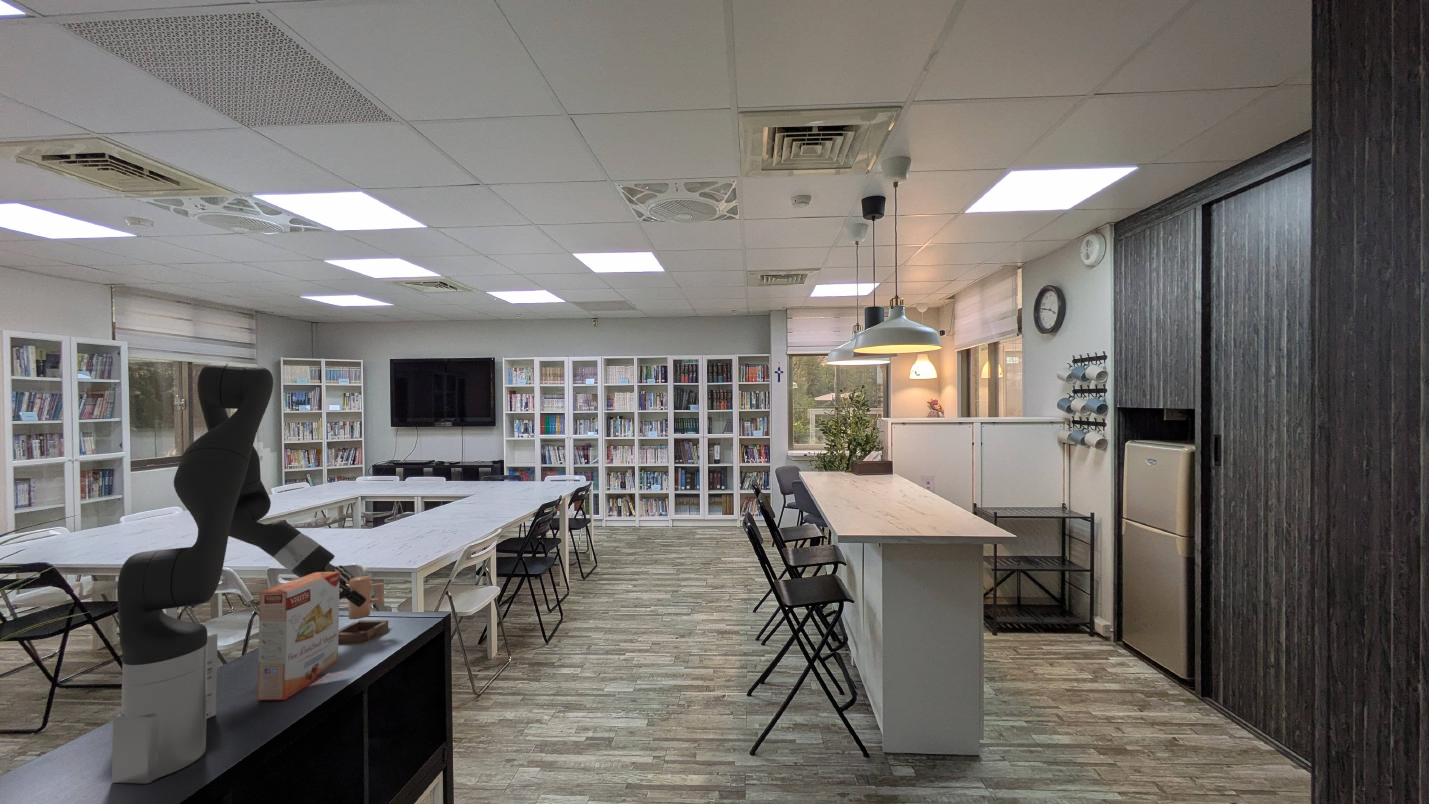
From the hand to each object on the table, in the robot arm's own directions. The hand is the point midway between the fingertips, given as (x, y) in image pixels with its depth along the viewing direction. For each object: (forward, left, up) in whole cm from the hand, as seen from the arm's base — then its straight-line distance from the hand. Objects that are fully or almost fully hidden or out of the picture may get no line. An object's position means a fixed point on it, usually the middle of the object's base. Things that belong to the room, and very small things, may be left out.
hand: (364, 600), depth 127 cm
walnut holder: (0, +1, -10) cm, 10 cm away
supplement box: (-35, +8, -10) cm, 38 cm away
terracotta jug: (0, 0, -4) cm, 4 cm away
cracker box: (-20, -2, -10) cm, 23 cm away
